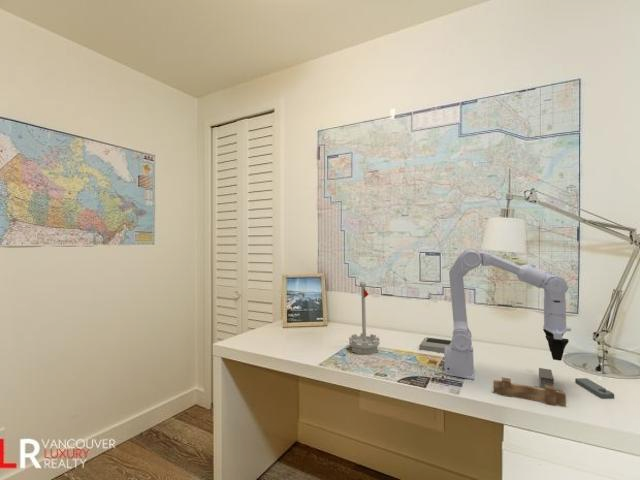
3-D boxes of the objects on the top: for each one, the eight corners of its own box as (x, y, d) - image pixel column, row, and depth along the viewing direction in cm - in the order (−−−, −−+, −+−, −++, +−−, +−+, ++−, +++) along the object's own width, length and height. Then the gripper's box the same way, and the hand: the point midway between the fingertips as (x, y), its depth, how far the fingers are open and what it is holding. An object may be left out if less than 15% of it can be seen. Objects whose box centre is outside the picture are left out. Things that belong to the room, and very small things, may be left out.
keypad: (456, 347, 131) (419, 342, 139) (456, 356, 131) (419, 350, 139) (459, 340, 140) (423, 335, 147) (459, 348, 140) (423, 344, 147)
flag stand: (344, 347, 144) (343, 280, 144) (371, 343, 148) (369, 278, 148) (357, 357, 132) (355, 283, 132) (385, 352, 136) (383, 281, 136)
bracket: (587, 384, 105) (587, 377, 105) (615, 400, 95) (614, 393, 94) (574, 384, 105) (574, 378, 105) (601, 400, 95) (600, 393, 95)
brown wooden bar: (493, 393, 99) (493, 378, 99) (494, 386, 104) (493, 372, 104) (566, 407, 90) (566, 391, 90) (563, 399, 95) (563, 384, 95)
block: (540, 390, 101) (540, 376, 101) (538, 380, 108) (538, 367, 108) (554, 392, 99) (553, 379, 99) (551, 382, 106) (551, 369, 106)
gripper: (574, 319, 94) (575, 366, 94) (567, 309, 107) (567, 350, 107) (545, 317, 98) (545, 361, 98) (541, 307, 110) (542, 347, 110)
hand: (555, 355), depth 103 cm, fingers open, 7 cm apart
